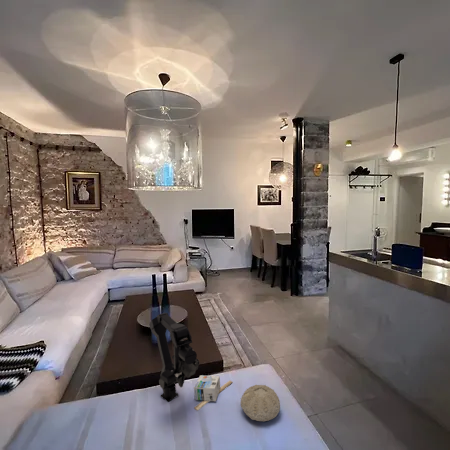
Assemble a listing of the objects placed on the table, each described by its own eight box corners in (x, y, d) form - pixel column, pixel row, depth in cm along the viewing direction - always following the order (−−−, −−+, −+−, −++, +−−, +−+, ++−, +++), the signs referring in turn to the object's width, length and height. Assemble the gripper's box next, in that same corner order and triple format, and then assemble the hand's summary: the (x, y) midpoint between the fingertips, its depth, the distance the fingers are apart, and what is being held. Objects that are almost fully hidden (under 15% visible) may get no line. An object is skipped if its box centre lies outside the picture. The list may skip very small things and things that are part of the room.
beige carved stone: (247, 431, 115) (247, 408, 114) (236, 402, 132) (235, 382, 131) (286, 422, 119) (286, 400, 118) (270, 395, 136) (270, 376, 135)
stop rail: (194, 408, 128) (194, 407, 128) (229, 381, 148) (229, 380, 148) (197, 410, 127) (197, 409, 127) (232, 382, 146) (232, 381, 146)
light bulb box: (214, 388, 131) (193, 387, 133) (215, 402, 131) (194, 400, 133) (219, 375, 141) (199, 374, 143) (220, 388, 141) (200, 387, 143)
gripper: (175, 370, 112) (176, 406, 113) (207, 351, 126) (207, 383, 127) (159, 360, 119) (160, 394, 120) (190, 343, 134) (191, 374, 135)
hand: (181, 386), depth 126 cm, fingers closed
